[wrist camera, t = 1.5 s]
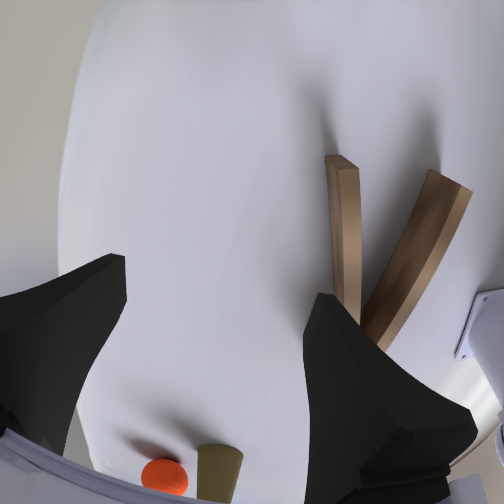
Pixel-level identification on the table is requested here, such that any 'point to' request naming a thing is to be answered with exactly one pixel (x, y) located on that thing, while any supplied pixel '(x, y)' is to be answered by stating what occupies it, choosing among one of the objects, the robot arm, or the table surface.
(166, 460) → the clementine
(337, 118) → the table surface
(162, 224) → the table surface
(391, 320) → the bar
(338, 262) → the tong arm
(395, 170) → the table surface
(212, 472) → the cork
